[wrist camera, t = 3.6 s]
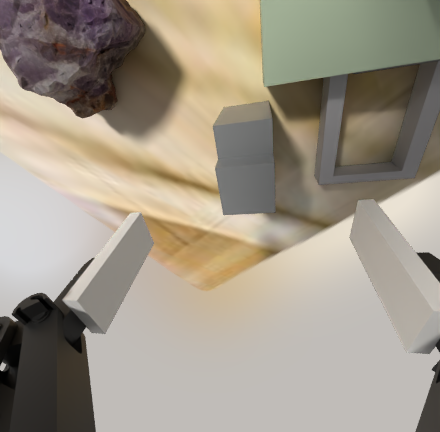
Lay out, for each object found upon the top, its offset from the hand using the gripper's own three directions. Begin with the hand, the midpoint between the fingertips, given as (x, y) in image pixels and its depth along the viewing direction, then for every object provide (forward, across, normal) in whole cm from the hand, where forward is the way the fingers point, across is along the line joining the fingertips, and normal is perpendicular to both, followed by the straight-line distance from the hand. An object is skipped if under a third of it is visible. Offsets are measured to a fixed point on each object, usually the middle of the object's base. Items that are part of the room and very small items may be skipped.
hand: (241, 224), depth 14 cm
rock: (+17, -15, +12) cm, 26 cm away
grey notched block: (+17, 0, 0) cm, 17 cm away
